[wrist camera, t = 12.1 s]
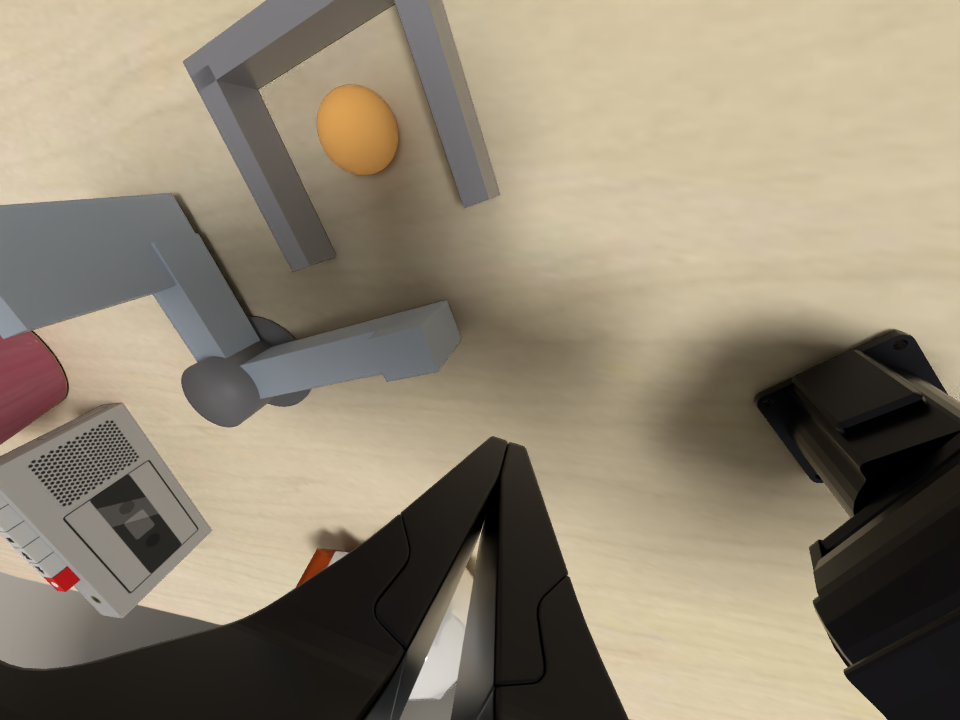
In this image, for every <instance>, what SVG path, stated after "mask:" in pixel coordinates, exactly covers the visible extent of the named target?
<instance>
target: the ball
mask: <svg viewBox="0 0 960 720" xmlns="http://www.w3.org/2000/svg"><path fill="white" fill-rule="evenodd" d="M317 131H318V136H319V139H320V142H321V144H322V146H323V148H324V150H325V152H326V153H327V155H328V156H329V157H330V158H331V160H332V161H333V162H334V163H335V164H337V165H338V166H339V167H341V168H342V169H344V170H346V171H348V172H350V173H353V174H358V175H370V174H374V173H377V172H379V171H381V170H382V169H384V168H385V167H386V166H387V165H388V164H389V163H390V162H391V160H392V159H393V157H394V155H395V153H396V150H397V146H398V128H397V123H396V120H395V117H394V115H393V113H392V111H391V109H390V108H389V106H388V105H387V103H386V102H385V101H384V100H383V99H382V98H381V97H380V96H379V95H378V94H377V93H375V92H374V91H372V90H370V89H368V88H366V87H363V86H359V85H343V86H340V87H337V88H335V89H334V90H332V91H331V92H330V93H329V94H328V95H327V96H326V97H325V98H324V99H323V101H322V103H321V105H320V108H319V111H318V115H317Z"/></svg>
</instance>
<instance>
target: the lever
mask: <svg viewBox="0 0 960 720" xmlns="http://www.w3.org/2000/svg"><path fill="white" fill-rule="evenodd" d="M151 294H153V296H154V297H155V299H156V300H157V302H158V303H159V305H160V306H161V308H162V309H163V311H164V312H165V314H166V315H167V317H168V318H169V320H170V321H171V323H172V324H173V326H174V327H175V329H176V330H177V332H178V333H179V335H180V336H181V338H182V339H183V341H184V342H185V344H186V345H187V347H188V349H189V350H190V352H191V353H192V355H193V356H194V358H195V359H196V361H197V362H198V363H196V364H194V365H192V366H190V367H188V368H187V369H186V370H185V371H184V372H183V375H182V379H181V383H182V388H183V391H184V394H185V396H186V398H187V400H188V401H189V403H190V404H191V405H192V407H193V408H194V409H195V410H196V411H197V412H198V413H199V414H200V415H201V416H203V417H204V418H205V419H207V420H208V421H210V422H212V423H214V424H216V425H219V426H222V427H235V426H238V425H239V424H241V423H242V422H243V421H245V420H246V419H247V418H249V417H250V416H251V415H253V414H254V413H255V412H257V411H258V410H259V409H261V408H262V407H263V406H265V405H266V404H267V403H269V402H270V401H271V400H273V399H274V398H275V397H277V396H278V395H282V394H287V393H292V392H297V391H302V390H306V389H311V388H316V387H321V386H326V385H331V384H335V383H340V382H345V381H350V380H355V379H359V378H364V377H369V376H374V375H379V374H383V375H384V378H385V380H386V382H388V381H393V380H398V379H403V378H408V377H413V376H418V375H424V374H429V373H434V372H438V371H439V370H440V369H441V367H442V366H443V364H444V363H445V362H446V360H447V359H448V357H449V356H450V354H451V353H452V352H453V350H454V349H455V347H456V346H457V345H458V343H459V342H460V340H461V336H460V333H459V331H458V328H457V325H456V323H455V320H454V317H453V314H452V312H451V309H450V306H449V304H448V301H447V300H444V301H440V302H437V303H433V304H429V305H426V306H422V307H418V308H414V309H411V310H407V311H403V312H399V313H396V314H392V315H388V316H385V317H381V318H377V319H373V320H370V321H366V322H362V323H359V324H355V325H351V326H347V327H344V328H340V329H336V330H332V331H329V332H325V333H321V334H318V335H314V336H310V337H306V338H303V339H299V340H295V341H292V342H288V343H284V344H280V345H277V346H273V347H272V346H270V345H269V344H267V343H265V342H263V341H261V340H260V339H259V337H258V336H257V334H256V332H255V330H254V329H253V327H252V325H251V324H250V322H249V320H248V318H247V317H246V315H245V313H244V312H243V310H242V308H241V306H240V305H239V303H238V301H237V299H236V298H235V296H234V294H233V293H232V291H231V289H230V287H229V286H228V284H227V282H226V281H225V279H224V277H223V275H222V274H221V272H220V270H219V268H218V267H217V265H216V263H215V262H214V260H213V258H212V256H211V255H210V253H209V251H208V250H207V248H206V246H205V244H204V243H203V241H202V239H201V237H200V236H199V234H198V233H197V234H195V232H194V230H193V229H192V227H191V225H190V223H189V222H188V220H187V218H186V217H185V215H184V213H183V211H182V210H181V208H180V206H179V205H178V203H177V201H176V199H175V198H174V196H173V194H172V193H166V194H152V195H138V196H124V197H110V198H96V199H82V200H68V201H54V202H40V203H25V204H11V205H0V335H1V337H2V338H3V339H5V338H9V337H12V336H15V335H19V334H22V333H25V332H29V331H32V330H35V329H39V328H42V327H45V326H48V325H52V324H55V323H58V322H62V321H65V320H68V319H72V318H75V317H78V316H82V315H85V314H88V313H92V312H95V311H98V310H102V309H105V308H108V307H111V306H115V305H118V304H121V303H125V302H128V301H131V300H135V299H138V298H141V297H145V296H148V295H151Z"/></svg>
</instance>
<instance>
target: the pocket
mask: <svg viewBox="0 0 960 720" xmlns="http://www.w3.org/2000/svg"><path fill="white" fill-rule="evenodd" d="M393 4H396V7H397V10H398V13H399V16H400V19H401V22H402V25H403V28H404V31H405V34H406V37H407V40H408V43H409V46H410V49H411V52H412V55H413V58H414V61H415V64H416V67H417V70H418V73H419V76H420V79H421V82H422V85H423V87H424V90H425V93H426V96H427V99H428V102H429V105H430V108H431V111H432V114H433V117H434V120H435V123H436V126H437V129H438V132H439V135H440V138H441V141H442V144H443V147H444V150H445V153H446V156H447V159H448V162H449V165H450V168H451V171H452V174H453V177H454V180H455V183H456V186H457V189H458V192H459V195H460V198H461V201H462V204H463V207H464V208H467V207H469V206H472V205H475V204H477V203H480V202H483V201H485V200H488V199H491V198H494V197H496V196H499V195H500V193H499V189H498V186H497V183H496V179H495V176H494V173H493V169H492V166H491V163H490V159H489V156H488V153H487V149H486V146H485V143H484V139H483V136H482V132H481V129H480V126H479V122H478V119H477V116H476V112H475V109H474V106H473V102H472V99H471V96H470V92H469V89H468V86H467V82H466V79H465V76H464V72H463V69H462V66H461V62H460V59H459V55H458V52H457V49H456V45H455V42H454V39H453V35H452V32H451V29H450V25H449V22H448V19H447V15H446V12H445V9H444V5H443V2H442V0H266V1H265V2H263V3H262V4H261V5H259V6H258V7H257V8H255V9H254V10H253V11H251V12H250V13H248V14H247V15H246V16H244V17H243V18H242V19H240V20H239V21H237V22H236V23H235V24H233V25H232V26H231V27H229V28H228V29H227V30H225V31H224V32H222V33H221V34H220V35H218V36H217V37H216V38H214V39H213V40H212V41H210V42H209V43H207V44H206V45H205V46H203V47H202V48H201V49H199V50H198V51H196V52H195V53H194V54H192V55H191V56H190V57H188V58H187V59H186V60H184V61H183V63H184V65H185V67H186V69H187V71H188V73H189V75H190V77H191V79H192V81H193V83H194V84H195V86H196V88H197V90H198V92H199V94H200V96H201V98H202V100H203V102H204V104H205V105H206V107H207V109H208V111H209V113H210V115H211V117H212V119H213V121H214V123H215V125H216V126H217V128H218V130H219V132H220V134H221V136H222V138H223V140H224V142H225V144H226V146H227V148H228V149H229V151H230V153H231V155H232V157H233V159H234V161H235V163H236V165H237V167H238V169H239V170H240V172H241V174H242V176H243V178H244V180H245V182H246V184H247V186H248V188H249V190H250V191H251V193H252V195H253V197H254V199H255V201H256V203H257V205H258V207H259V209H260V211H261V212H262V214H263V216H264V218H265V220H266V222H267V224H268V226H269V228H270V230H271V232H272V234H273V235H274V237H275V239H276V241H277V243H278V245H279V247H280V249H281V251H282V253H283V255H284V256H285V258H286V260H287V262H288V264H289V266H290V268H291V270H292V272H295V271H298V270H300V269H303V268H306V267H309V266H311V265H314V264H317V263H319V262H322V261H325V260H327V259H330V258H333V257H335V256H336V254H335V252H334V250H333V248H332V246H331V243H330V241H329V239H328V237H327V235H326V233H325V231H324V229H323V227H322V224H321V222H320V220H319V218H318V216H317V214H316V212H315V210H314V208H313V205H312V203H311V201H310V199H309V197H308V195H307V193H306V191H305V189H304V186H303V184H302V182H301V180H300V178H299V176H298V174H297V172H296V170H295V167H294V165H293V163H292V161H291V159H290V157H289V155H288V153H287V151H286V148H285V146H284V144H283V142H282V140H281V138H280V136H279V134H278V131H277V129H276V127H275V125H274V123H273V121H272V119H271V117H270V115H269V112H268V110H267V108H266V106H265V104H264V102H263V100H262V98H261V96H260V93H259V91H258V89H259V88H261V87H262V86H264V85H266V84H267V83H269V82H270V81H272V80H274V79H275V78H277V77H278V76H280V75H282V74H283V73H285V72H286V71H288V70H290V69H291V68H293V67H294V66H296V65H297V64H299V63H301V62H302V61H304V60H305V59H307V58H309V57H310V56H312V55H313V54H315V53H317V52H318V51H320V50H321V49H323V48H325V47H326V46H328V45H329V44H331V43H333V42H334V41H336V40H337V39H339V38H341V37H342V36H344V35H345V34H347V33H349V32H350V31H352V30H353V29H355V28H357V27H358V26H360V25H361V24H363V23H365V22H366V21H368V20H369V19H371V18H373V17H374V16H376V15H377V14H379V13H381V12H382V11H384V10H385V9H387V8H389V7H390V6H392V5H393Z"/></svg>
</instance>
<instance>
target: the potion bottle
mask: <svg viewBox="0 0 960 720" xmlns="http://www.w3.org/2000/svg"><path fill="white" fill-rule="evenodd" d="M348 553H349V552H345V551H339V550H328V549H318V548H317V550H316V552H315V554H314V555H313V557H312V559H311V561H310V563H309V564H308V566H307V568H306V570H305V572H304V573H303V575H302V577H301V579H300V581H299V582H298V584H297V586H296V587H298V586H299V585H301V584H302V583H304V582H305V581H307V580H308V579H310V578H312V577H313V576H315V575H316V574H318V573H319V572H321V571H322V570H324V569H325V568H327V567H328V566H330V565H331V564H333V563H334V562H336V561H337V560H339V559H341V558H342V557H343V556H345V555H346V554H348ZM473 579H474V576H473V575H472V574H471V573H470V571H469V570H468V569H467V568H465V570H464V572H463V575H462V577H461V579H460V582H459V584H458V586H457V589H456V591H455V593H454V595H453V598H452V600H451V602H450V605H449V607H448V609H447V612H446V614H445V616H444V618H443V621H442V623H441V625H440V628H439V630H438V632H437V635H436V637H435V639H434V641H433V644H432V646H431V648H430V651H429V653H428V655H427V658H426V660H425V662H424V664H423V667H422V669H421V671H420V674H419V676H418V678H417V681H416V683H415V685H414V687H413V690H412V692H411V694H410V697H409V699H408V700H437V699H440V698H442V697H443V696H444V695H445V694H446V693H447V692H448V691H449V690H450V689H451V688H452V687H453V686H454V685H455V684H456V683H457V677H458V671H459V665H460V659H461V653H462V647H463V640H464V634H465V628H466V622H467V616H468V610H469V603H470V597H471V591H472V585H473Z"/></svg>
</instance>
